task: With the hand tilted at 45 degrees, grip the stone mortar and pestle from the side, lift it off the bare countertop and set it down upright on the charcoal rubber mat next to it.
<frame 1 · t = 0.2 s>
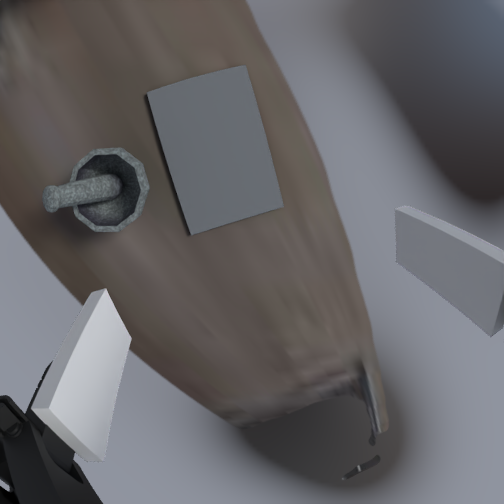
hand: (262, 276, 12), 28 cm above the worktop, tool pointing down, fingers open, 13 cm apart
mortar and pestle: (116, 182, 35), on the worktop
rubber mat: (216, 148, 36), on the worktop
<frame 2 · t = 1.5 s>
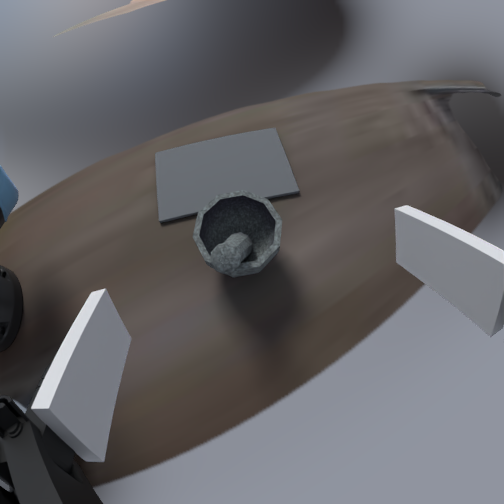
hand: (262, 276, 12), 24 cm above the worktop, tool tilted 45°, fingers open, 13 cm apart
mortar and pestle: (240, 257, 38), on the worktop
rubber mat: (221, 170, 43), on the worktop
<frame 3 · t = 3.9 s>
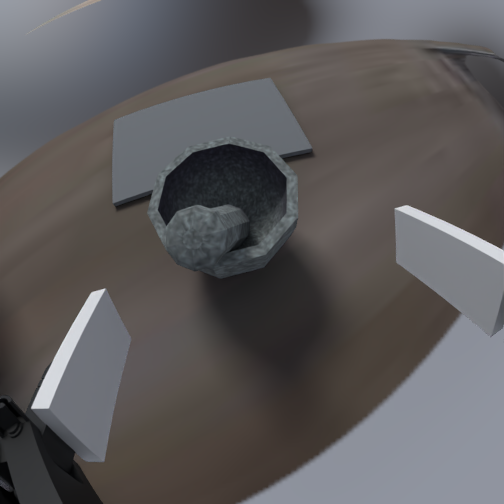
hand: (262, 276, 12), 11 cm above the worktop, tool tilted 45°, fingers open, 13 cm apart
mortar and pestle: (232, 247, 24), on the worktop
rubber mat: (200, 131, 29), on the worktop
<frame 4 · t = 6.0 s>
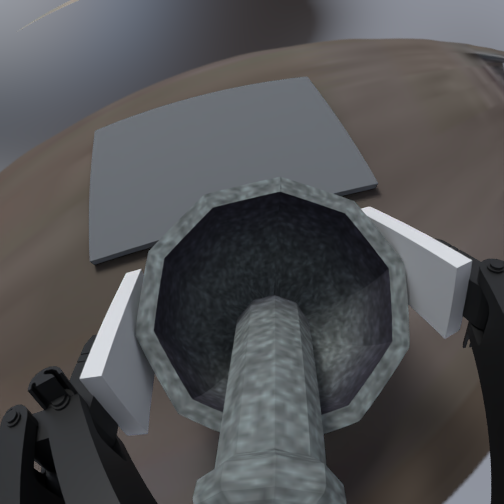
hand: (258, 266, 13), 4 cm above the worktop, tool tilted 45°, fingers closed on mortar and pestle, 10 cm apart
mortar and pestle: (270, 341, 16), on the worktop, touching gripper
rubber mat: (215, 149, 21), on the worktop
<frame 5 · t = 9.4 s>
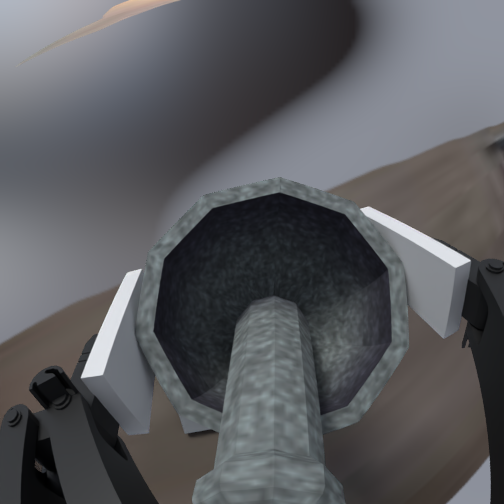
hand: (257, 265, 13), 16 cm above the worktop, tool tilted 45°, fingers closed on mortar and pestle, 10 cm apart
mortar and pestle: (270, 341, 16), point 12 cm above the worktop, touching gripper
when the fingers open (6 cm above the worktop, at t = 12.4 s): mortar and pestle drops 1 cm, resting on rubber mat.
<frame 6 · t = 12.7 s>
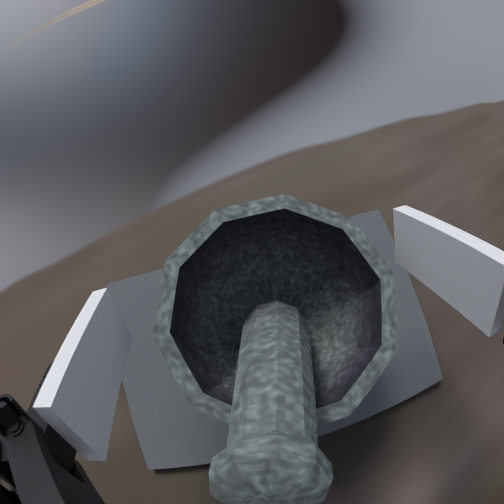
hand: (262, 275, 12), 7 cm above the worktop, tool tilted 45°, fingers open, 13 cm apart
mortar and pestle: (273, 342, 17), resting on rubber mat
rubber mat: (274, 343, 17), on the worktop
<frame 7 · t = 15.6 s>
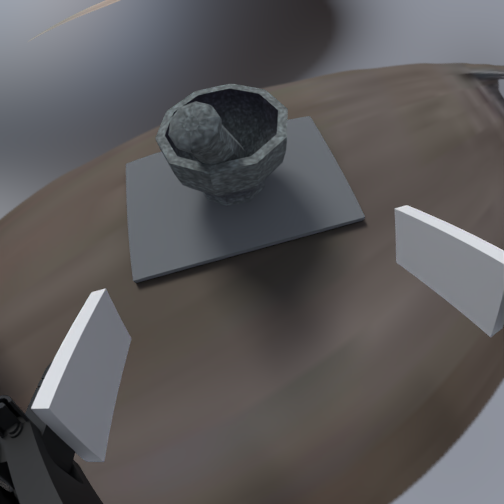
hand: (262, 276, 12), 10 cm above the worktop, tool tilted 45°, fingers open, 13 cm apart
mortar and pestle: (231, 184, 26), resting on rubber mat
rubber mat: (232, 187, 26), on the worktop
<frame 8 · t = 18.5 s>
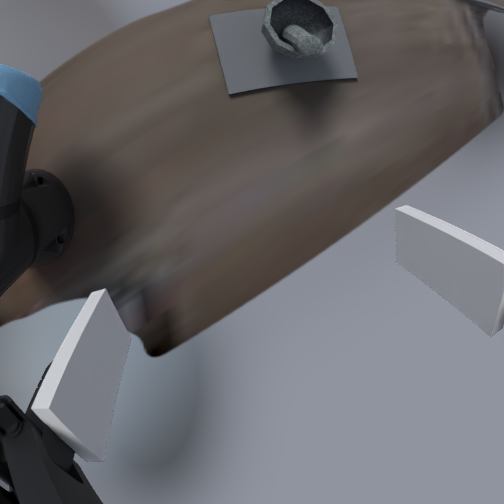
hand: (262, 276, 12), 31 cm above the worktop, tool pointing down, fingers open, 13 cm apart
mortar and pestle: (286, 42, 34), resting on rubber mat
rubber mat: (286, 44, 34), on the worktop
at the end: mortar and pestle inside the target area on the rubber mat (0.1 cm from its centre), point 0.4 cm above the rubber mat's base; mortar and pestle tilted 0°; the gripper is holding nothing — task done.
